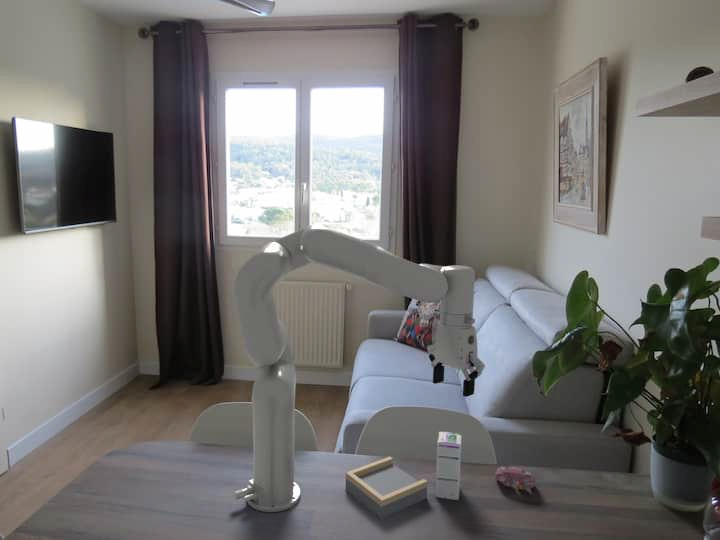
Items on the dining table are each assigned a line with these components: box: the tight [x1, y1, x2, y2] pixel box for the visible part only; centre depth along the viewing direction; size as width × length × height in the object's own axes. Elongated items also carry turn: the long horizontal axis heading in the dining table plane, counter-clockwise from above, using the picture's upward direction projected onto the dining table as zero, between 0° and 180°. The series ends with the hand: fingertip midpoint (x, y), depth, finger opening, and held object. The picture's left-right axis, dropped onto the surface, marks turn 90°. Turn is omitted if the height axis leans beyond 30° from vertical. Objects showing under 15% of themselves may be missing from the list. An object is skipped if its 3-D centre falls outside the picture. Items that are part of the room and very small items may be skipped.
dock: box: [345, 456, 428, 519], centre depth 126 cm, size 14×14×4 cm
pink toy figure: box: [494, 465, 537, 491], centre depth 130 cm, size 10×5×7 cm, turn 70°
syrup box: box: [434, 431, 462, 501], centre depth 127 cm, size 6×6×14 cm
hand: (452, 388), depth 124 cm, fingers open, 9 cm apart
